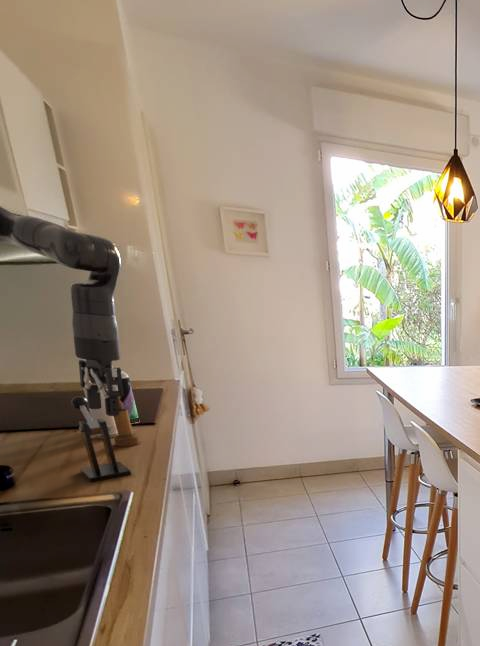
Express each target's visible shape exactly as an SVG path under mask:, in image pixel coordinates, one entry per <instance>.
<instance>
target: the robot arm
mask: <svg viewBox="0 0 480 646" xmlns="http://www.w3.org/2000/svg"><path fill="white" fill-rule="evenodd" d="M0 243H4V244H9V245H13V246H17V247H20V248H22V249H24V250H26V251H28V252H32V253H34V254H37V255H40V256H42V257H46V258H49V259H51V260H52V261H54V262H56V263H57V264H59V265H61V266H64V267H67V268H70V269H74V270H78V271H86V272H89V275H88V278H87V280H86V281H82V282H81V281H80V282H74V283H72V284H71V285H70V289H69V291H70V292H69V293H70V302H71V312H72V316H71V317H72V318H71V319H72V320H71V326H72V327H71V328H72V336H73V343H74V345H73V346H74V354H75V356H76V358H78V369H79V381H80V383H79V384H80V387H81V388H83V387H84V389H85V391H86V392H87V399H88V407H87V408H88V409H89V408H90V409H101V396H100V392H98V391H100V389H101V390H102V392H103V394H104V397H105V398H104V399H105V409H106V415H108V416H118V415H119V404H118V398H120V397H123V395H124V393H123V385H122V376H121V370H122V369H121V367H113V363H112V362H113V361H120V360H121V349H120V348H121V347H120V336H119V327H118V322H117V319H116V309H115V307H116V306H115V299H114V297H115V292H116V288H117V283H118V280H119V275H120V271H121V264H122V263H121V262H122V260H121V255H120V252H119V250H118V248H117V247H116V245H115V244H114V243H113V242H112V241H111V240H109V239H107V238H105V237H101V236H96V235H91V234H87V233H82V232H77V231H73V230H69V229H67V228H66V227H64V226H62V225H61V224H58V223H54V222H51V221H49V220H45V219H42V218H39V217H36V216H31V215H18V214H15V213H13V212H11V211H9V210H8V209H6V208H4V207H2V206H1V205H0ZM117 387H118V389H117ZM84 389H83V390H84ZM112 390H113V391H112Z"/></svg>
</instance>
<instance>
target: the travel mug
mask: <svg viewBox="0 0 480 646" xmlns="http://www.w3.org/2000/svg"><path fill="white" fill-rule="evenodd" d="M82 389H83V393H84V396H85V398H86V399H87V392H86V391H85V389H84V387H82ZM98 392H100V396H101V409H90V408H89V407H88V410H89V411H88V412H89V414H90V416H91V418H92V420H93V421H97V419H103V420H104V421H106V424H107V425H108V432H109V436H110V439H114V438H115V437H116V436H117V435H118V432H117V428H116V424H115V421H114V417H113V416H108V415H106V409H105V399H104V398H105V397H104V394H103V392H102V390H101V389H100V391H98ZM87 401H88V399H87ZM97 422H98V421H97ZM95 436H96V437H95V438H97V439H101V440H102V436H101V434H97V435H95Z"/></svg>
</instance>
